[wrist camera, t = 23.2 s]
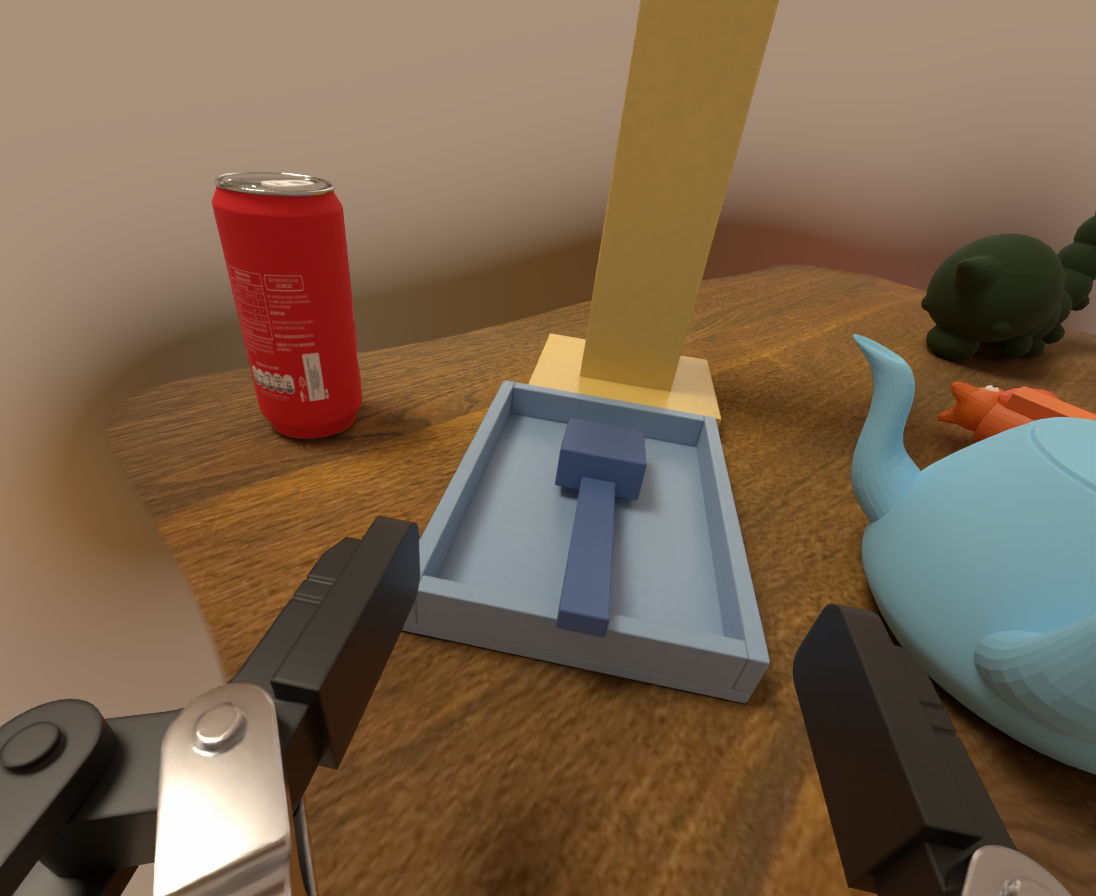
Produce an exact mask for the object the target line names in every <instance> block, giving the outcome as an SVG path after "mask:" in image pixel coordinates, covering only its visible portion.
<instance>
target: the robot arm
mask: <svg viewBox="0 0 1096 896" xmlns="http://www.w3.org/2000/svg"><path fill="white" fill-rule="evenodd" d="M419 583H420V552H419V529H418V525H417V523H414V522H409V521H404V520H398V519H393V518H388V517H383V516H379V517H377V518H376V519H375V520H374V522H373V523H372V524H371V526H370V528H369V529H368V531H367V532H366V534H365V535H364V537H363V538H362V540H360V539H355V538H349V537H346V538H344V539H343V540H342V541H340V542H339V543H337V544H336V545H335V546H333V547H332V548H330V549H329V550H328V551H326V552H325V553H323V554H322V556H321V557H320V559H319V560H318V561H317V563H316V564H315V566H314V567H313V568H312V570H311V571H310V573H309V574H308V575H307V579H306V581H305V580H304V581H303V582H302V584H301V585H300V586H299V588H298V589H297V591H296V592H295V593H294V597H293V599H290V600H289V602H288V603H287V605H286V606H285V607H284V609H283V610H282V612H281V613H280V614H279V616H278V617H277V619H276V620H275V621H274V623H273V624H272V625H271V627H270V628H269V630H268V631H267V632H266V634H265V635H264V637H263V638H262V639H261V641H260V642H259V644H258V645H257V646H256V648H255V649H254V651H253V652H252V653H251V655H250V656H249V658H248V659H247V660H246V662H245V663H244V665H243V666H242V667H241V669H240V670H239V671H238V672H237V674H236V675H235V676H234V677H233V678H232V679H231V680H230V681H229V682H228V683H227V684H226V685H223V686H219V687H217V688H214V689H212V690H209V691H207V692H206V693H204V694H202V695H200V696H199V697H197V698H196V699H194V700H193V701H191V702H190V703H189V704H188V705H187V706H186V707H184V708H181V709H178V710H173V711H167V712H159V713H152V714H143V715H134V716H126V717H117V718H108V719H104V717H103V716H102V715H101V713H100V712H99V710H98V709H97V708H96V707H95V706H94V705H93V704H91V703H89V702H87V701H83V700H79V699H65V700H57V701H53V702H49V703H46V704H43V705H39V706H37V707H35V708H32V709H30V710H28V711H26V712H24V713H22V714H20V715H18V716H17V717H15V718H13V719H12V720H10V721H8V722H7V723H5V724H4V725H3V726H1V727H0V896H121V894H122V892H123V891H124V889H125V887H126V886H127V884H128V883H129V881H130V879H131V878H132V876H133V874H134V873H135V871H136V869H137V868H138V866H139V865H142V864H148V863H154V862H155V870H154V889H153V896H319V891H318V884H317V877H316V870H315V863H314V856H313V849H312V843H311V836H310V829H309V822H308V815H307V808H306V801H305V794H304V792H305V790H306V788H307V786H308V784H309V782H310V780H311V778H312V776H313V774H314V772H315V770H316V768H317V766H318V765H320V766H324V767H328V768H333V769H337V770H338V767H339V765H340V763H341V761H342V759H343V757H344V754H345V752H346V750H347V748H348V746H349V744H350V741H351V739H352V737H353V735H354V733H355V731H356V728H357V726H358V724H359V722H360V720H361V717H362V715H363V713H364V711H365V709H366V707H367V704H368V702H369V700H370V698H371V696H372V694H373V691H374V689H375V687H376V685H377V683H378V681H379V678H380V676H381V674H382V672H383V670H384V668H385V665H386V663H387V661H388V659H389V657H390V655H391V652H392V650H393V648H394V646H395V644H396V642H397V639H398V637H399V635H400V633H401V631H402V629H403V626H404V624H405V622H406V620H407V618H408V616H409V613H410V611H411V609H412V607H413V605H414V602H415V599H416V596H417V593H418V588H419ZM793 678H794V684H795V688H796V692H797V696H798V700H799V703H800V707H801V711H802V715H803V718H804V722H805V726H806V730H807V734H808V737H809V741H810V745H811V749H812V752H813V756H814V760H815V764H816V768H817V771H818V775H819V779H820V783H821V786H822V790H823V794H824V798H825V801H826V805H827V809H828V813H829V817H830V820H831V824H832V828H833V832H834V835H835V839H836V843H837V847H838V850H839V854H840V858H841V862H842V866H843V869H844V873H845V877H846V881H847V884H848V887H849V888H854V889H858V890H862V891H867V892H871V893H876V894H878V896H1072V895H1071V894H1070V893H1069V892H1068V891H1067V890H1066V889H1065V888H1064V886H1063V885H1062V884H1061V883H1060V882H1059V881H1058V880H1057V879H1055V878H1054V877H1053V876H1052V875H1051V874H1050V873H1049V872H1048V871H1046V870H1045V869H1044V868H1043V867H1042V866H1040V865H1039V864H1037V863H1036V862H1035V861H1033V860H1032V859H1030V858H1029V857H1027V856H1025V855H1023V854H1021V853H1020V852H1018V850H1017V849H1016V847H1015V845H1014V844H1013V842H1012V840H1011V838H1010V836H1009V834H1008V832H1007V830H1006V828H1005V826H1004V825H1003V823H1002V821H1001V819H1000V817H999V815H998V813H997V811H996V809H995V807H994V805H993V803H992V801H991V799H990V797H989V795H988V793H987V791H986V789H985V787H984V785H983V783H982V781H981V779H980V777H979V775H978V773H977V771H976V769H975V767H974V765H973V763H972V761H971V759H970V757H969V755H968V753H967V751H966V749H965V747H964V745H963V743H962V741H961V739H960V738H958V737H956V734H955V733H956V730H955V728H954V726H953V724H952V722H951V720H950V718H949V716H948V714H947V712H945V711H943V704H942V702H941V700H940V698H939V696H938V694H937V692H936V690H935V688H934V686H933V684H932V682H931V680H930V678H929V676H928V675H927V673H926V672H925V671H924V670H923V669H922V668H921V667H920V666H919V664H918V663H917V662H916V661H915V660H914V659H913V658H912V656H911V655H910V654H909V653H908V652H907V651H906V650H905V649H904V647H900V646H895V645H893V643H892V641H891V639H890V637H889V635H888V633H887V631H886V628H885V626H884V624H883V622H882V620H881V618H880V617H879V616H878V615H877V614H876V613H874V612H871V611H866V610H861V609H856V608H851V607H845V606H840V605H835V604H829V605H827V606H826V607H825V608H824V609H823V610H822V612H821V614H820V615H819V617H818V618H817V620H816V621H815V623H814V625H813V626H812V628H811V629H810V631H809V632H808V634H807V636H806V637H805V639H804V640H803V642H802V644H801V645H800V647H799V648H798V650H797V652H796V655H795V658H794V664H793Z"/></svg>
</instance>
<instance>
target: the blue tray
mask: <svg viewBox="0 0 1096 896" xmlns="http://www.w3.org/2000/svg"><path fill="white" fill-rule="evenodd" d="M569 418H573V419H578V420H584V421H590V422H595V423H601V424H606V425H612V426H617V427H623V428H629V429H634V430H640V431H644V437H645V450H646V463H647V466H646V470H645V474H644V478H643V482H642V486H641V490H640V494H639V499H638V500H631V499H625V498H620V497H615V508H614V531H613V554H612V577H611V600H610V620H609V624H608V628H607V633H606V636H605V637H599V636H594V635H589V634H584V633H580V632H575V631H570V630H565V629H560V628H557V627H556V621H557V615H558V609H559V603H560V598H561V592H562V586H563V580H564V575H565V569H566V563H567V558H568V552H569V546H570V540H571V535H572V529H573V523H574V517H575V512H576V506H577V500H578V494H579V490H578V489H572V488H567V487H562V486H557V485H555V479H556V472H557V466H558V460H559V454H560V448H561V445H562V441H563V438H564V434H565V431H566V427H567V424H568V420H569ZM419 552H420V583H419V588H418V593H417V596H416V599H415V602H414V605H413V607H412V609H411V611H410V613H409V616H408V618H407V620H406V622H405V624H404V626H403V629H402V630H403V631H408V632H412V633H417V634H422V635H426V636H431V637H436V638H440V639H445V640H450V641H454V642H459V643H464V644H469V645H473V646H478V647H483V648H487V649H492V650H497V651H501V652H506V653H511V654H515V655H520V656H525V657H529V658H534V659H539V660H544V661H548V662H553V663H558V664H562V665H567V666H572V667H576V668H581V669H586V670H590V671H595V672H600V673H605V674H609V675H614V676H619V677H623V678H628V679H633V680H637V681H642V682H647V683H651V684H656V685H661V686H666V687H670V688H675V689H680V690H684V691H689V692H694V693H698V694H703V695H708V696H712V697H717V698H722V699H727V700H731V701H736V702H741V703H747V701H748V700H749V698H750V696H751V693H753V691H754V690H755V688H756V686H757V685H758V683H759V681H760V680H761V678H762V676H763V675H764V673H765V671H766V670H767V668H768V666H769V665H770V659H769V655H768V650H767V646H766V641H765V637H764V633H763V628H762V624H761V619H760V615H759V610H758V606H757V601H756V597H755V592H754V588H753V583H752V579H751V574H750V570H749V565H748V561H747V557H746V552H745V548H744V543H743V539H742V534H741V530H740V525H739V521H738V516H737V512H736V507H735V503H734V498H733V494H732V489H731V485H730V481H729V476H728V472H727V467H726V463H725V458H724V454H723V449H722V445H721V440H720V436H719V431H718V427H717V422H716V418H715V417H711V416H705V415H704V416H703V415H699V414H694V413H688V412H682V411H677V410H671V409H665V408H660V407H654V406H648V405H642V404H637V403H631V402H625V401H620V400H614V399H608V398H603V397H597V396H591V395H586V394H580V393H574V392H569V391H563V390H557V389H551V388H546V387H540V386H534V385H529V384H523V383H517V382H516V383H515V382H512V381H506V380H504V381H503V383H502V385H501V387H500V389H499V391H498V393H497V395H496V397H495V398H494V400H493V402H492V404H491V406H490V408H489V410H488V412H487V414H486V415H485V417H484V419H483V421H482V423H481V425H480V427H479V429H478V431H477V433H476V434H475V436H474V438H473V440H472V442H471V444H470V446H469V448H468V450H467V452H466V453H465V455H464V457H463V459H462V461H461V463H460V465H459V467H458V469H457V470H456V472H455V474H454V476H453V478H452V480H451V482H450V484H449V486H448V488H447V489H446V491H445V493H444V495H443V497H442V499H441V501H440V503H439V505H438V507H437V508H436V510H435V512H434V514H433V516H432V518H431V520H430V522H429V524H428V525H427V527H426V529H425V531H424V533H423V535H422V537H421V539H420V541H419Z"/></svg>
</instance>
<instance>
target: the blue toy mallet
mask: <svg viewBox="0 0 1096 896" xmlns="http://www.w3.org/2000/svg"><path fill="white" fill-rule="evenodd" d="M646 466H647V463H646V450H645V437H644V431H640V430H634V429H629V428H623V427H617V426H612V425H606V424H601V423H595V422H590V421H584V420H578V419H573V418H569V420H568V424H567V427H566V431H565V434H564V438H563V441H562V445H561V448H560V454H559V460H558V466H557V472H556V479H555V485H557V486H562V487H567V488H572V489H578V490H579V494H578V500H577V506H576V512H575V517H574V523H573V529H572V535H571V540H570V546H569V552H568V558H567V563H566V569H565V575H564V580H563V586H562V592H561V598H560V603H559V609H558V615H557V621H556V627H557V628H560V629H565V630H570V631H575V632H580V633H584V634H589V635H594V636H599V637H605V636H606V633H607V628H608V624H609V620H610V600H611V577H612V554H613V531H614V508H615V497H620V498H625V499H631V500H638V499H639V494H640V490H641V486H642V482H643V478H644V474H645V470H646Z"/></svg>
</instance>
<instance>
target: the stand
mask: <svg viewBox="0 0 1096 896" xmlns="http://www.w3.org/2000/svg"><path fill="white" fill-rule="evenodd" d="M778 3H779V0H641V1H640V7H639V13H638V20H637V26H636V32H635V38H634V44H633V50H632V57H631V63H630V69H629V75H628V81H627V88H626V93H625V100H624V106H623V112H622V118H621V124H620V130H619V137H618V143H617V149H616V155H615V161H614V168H613V173H612V179H611V186H610V192H609V198H608V204H607V211H606V217H605V223H604V229H603V235H602V242H601V247H600V254H599V260H598V266H597V272H596V278H595V285H594V290H593V296H592V303H591V309H590V315H589V321H588V327H587V333H586V340H585V339H579V338H573V337H567V336H561V335H555V334H550V335H549V337H548V340H547V342H546V344H545V347H544V349H543V351H542V353H541V356H540V358H539V360H538V363H537V365H536V367H535V370H534V372H533V374H532V377H531V379H530V381H529V385H534V386H540V387H546V388H551V389H557V390H563V391H569V392H574V393H580V394H586V395H591V396H597V397H603V398H608V399H614V400H620V401H625V402H631V403H637V404H642V405H648V406H654V407H660V408H665V409H671V410H677V411H682V412H688V413H694V414H699V415H703V416H704V415H705V416H711V417H715V418H716V422H717V427H718V428H719V425H720V422H721V416H720V412H719V407H718V403H717V399H716V395H715V391H714V387H713V383H712V378H711V374H710V370H709V366H708V362H707V360H704V359H698V358H692V357H686V356H681V353H682V349H683V345H684V342H685V338H686V335H687V331H688V327H689V324H690V320H691V317H692V313H693V309H694V306H695V302H696V298H697V295H698V291H699V288H700V284H701V280H702V277H703V273H704V270H705V266H706V262H707V259H708V255H709V251H710V248H711V244H712V241H713V237H714V234H715V230H716V226H717V223H718V219H719V215H720V212H721V208H722V205H723V201H724V197H725V194H726V190H727V187H728V183H729V179H730V176H731V172H732V169H733V165H734V161H735V158H736V154H737V150H738V147H739V143H740V139H741V136H742V133H743V129H744V125H745V122H746V118H747V114H748V111H749V107H750V104H751V100H752V96H753V93H754V89H755V86H756V82H757V78H758V75H759V71H760V68H761V64H762V60H763V57H764V53H765V50H766V46H767V42H768V38H769V35H770V32H771V28H772V24H773V21H774V17H775V14H776V10H777V6H778Z"/></svg>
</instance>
